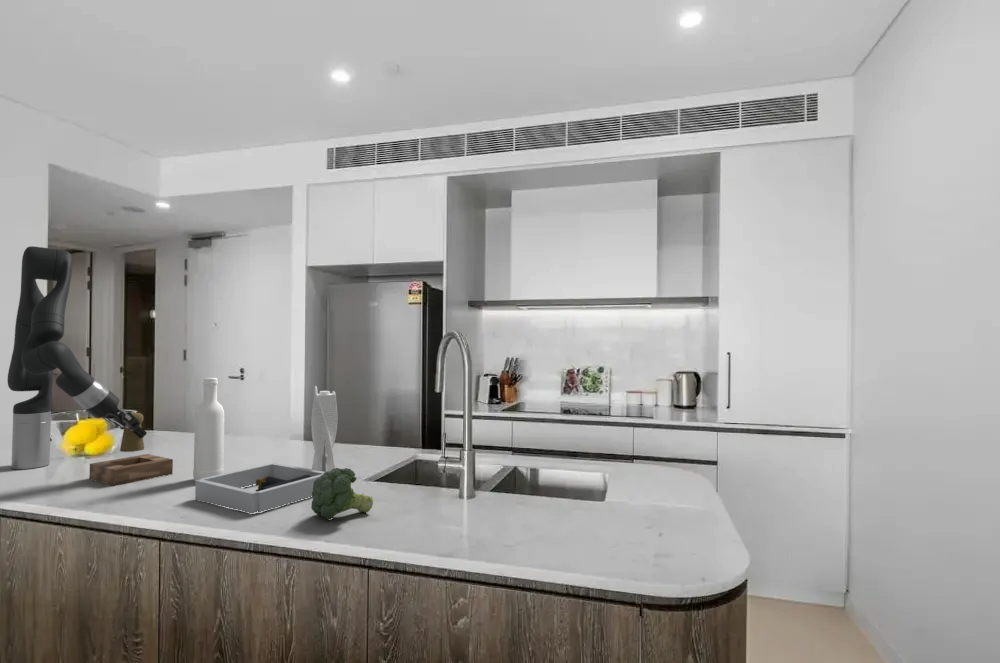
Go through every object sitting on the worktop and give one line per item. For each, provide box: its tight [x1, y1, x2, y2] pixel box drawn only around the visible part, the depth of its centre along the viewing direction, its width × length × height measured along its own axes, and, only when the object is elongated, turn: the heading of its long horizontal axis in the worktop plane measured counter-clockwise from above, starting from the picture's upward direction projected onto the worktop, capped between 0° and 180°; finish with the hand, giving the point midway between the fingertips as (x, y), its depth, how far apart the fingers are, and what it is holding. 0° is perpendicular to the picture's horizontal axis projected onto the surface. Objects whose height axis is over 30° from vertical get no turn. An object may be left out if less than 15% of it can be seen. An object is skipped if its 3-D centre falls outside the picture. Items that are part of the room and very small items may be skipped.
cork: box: [119, 412, 145, 453], centre depth 162 cm, size 6×6×11 cm
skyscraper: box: [310, 385, 339, 472], centre depth 160 cm, size 8×8×28 cm
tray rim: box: [194, 462, 325, 513], centre depth 144 cm, size 24×24×5 cm
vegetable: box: [311, 467, 374, 520], centre depth 128 cm, size 12×13×15 cm
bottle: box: [192, 377, 225, 483], centre depth 160 cm, size 8×8×30 cm
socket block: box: [88, 453, 174, 487], centre depth 162 cm, size 14×16×4 cm
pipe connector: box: [255, 475, 312, 492], centre depth 143 cm, size 12×5×15 cm
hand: (139, 434), depth 163 cm, fingers closed on cork, 4 cm apart
